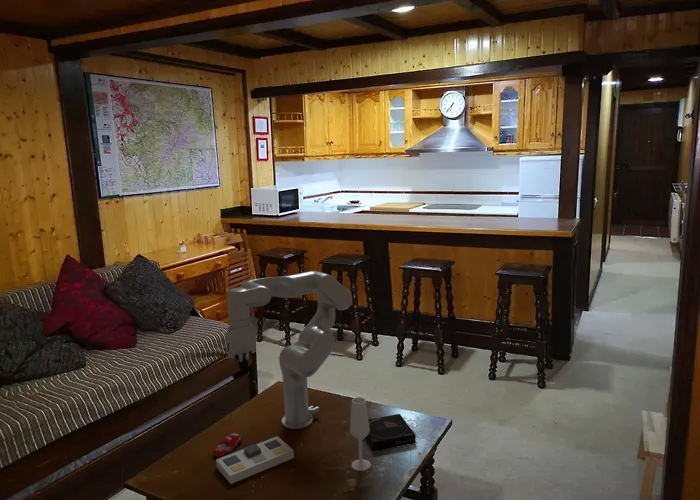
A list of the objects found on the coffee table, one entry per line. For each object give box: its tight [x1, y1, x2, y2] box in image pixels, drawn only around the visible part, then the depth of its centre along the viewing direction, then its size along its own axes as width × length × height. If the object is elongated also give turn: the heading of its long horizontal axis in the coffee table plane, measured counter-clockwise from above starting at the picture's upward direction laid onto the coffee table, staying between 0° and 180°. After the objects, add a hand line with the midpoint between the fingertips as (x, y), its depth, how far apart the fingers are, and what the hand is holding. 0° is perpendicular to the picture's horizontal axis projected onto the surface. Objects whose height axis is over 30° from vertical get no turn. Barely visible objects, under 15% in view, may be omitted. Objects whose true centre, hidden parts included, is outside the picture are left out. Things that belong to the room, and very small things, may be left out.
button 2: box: [265, 440, 281, 450], centre depth 194 cm, size 4×4×3 cm
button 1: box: [223, 455, 240, 466], centre depth 185 cm, size 4×4×3 cm
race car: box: [212, 433, 243, 458], centre depth 198 cm, size 13×5×4 cm, turn 154°
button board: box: [215, 435, 295, 485], centre depth 188 cm, size 24×12×3 cm, turn 126°
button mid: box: [243, 443, 261, 458], centre depth 189 cm, size 4×4×3 cm
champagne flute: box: [349, 396, 372, 472], centre depth 182 cm, size 7×7×24 cm
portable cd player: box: [364, 413, 417, 452], centre depth 202 cm, size 16×17×4 cm
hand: (243, 370), depth 196 cm, fingers closed
